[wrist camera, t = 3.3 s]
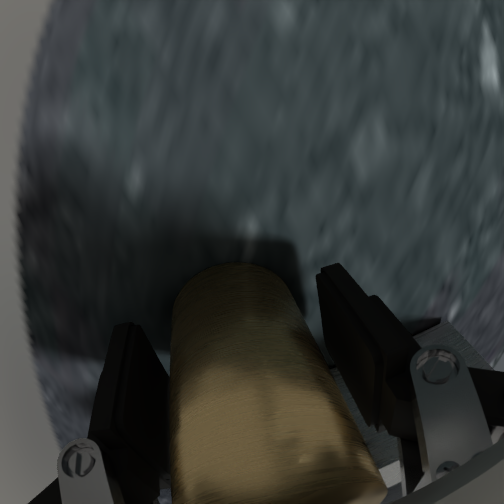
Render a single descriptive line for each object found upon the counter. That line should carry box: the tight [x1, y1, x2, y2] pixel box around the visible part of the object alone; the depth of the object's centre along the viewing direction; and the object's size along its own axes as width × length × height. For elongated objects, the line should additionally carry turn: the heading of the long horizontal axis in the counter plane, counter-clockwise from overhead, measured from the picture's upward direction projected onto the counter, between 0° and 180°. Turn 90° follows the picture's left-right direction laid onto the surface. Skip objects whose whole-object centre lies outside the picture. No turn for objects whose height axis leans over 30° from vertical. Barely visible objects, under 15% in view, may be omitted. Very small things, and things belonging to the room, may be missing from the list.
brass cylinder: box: [169, 262, 388, 504], centre depth 7 cm, size 4×4×7 cm
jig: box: [330, 320, 495, 504], centre depth 12 cm, size 12×12×7 cm
